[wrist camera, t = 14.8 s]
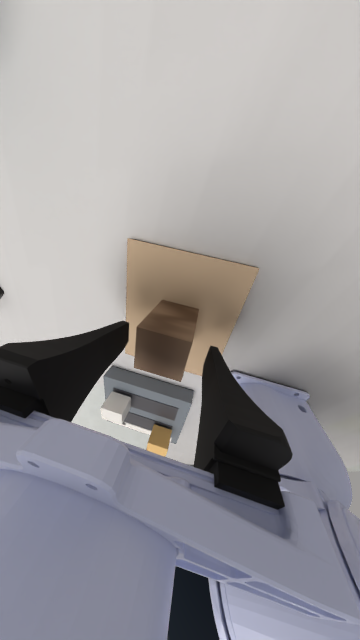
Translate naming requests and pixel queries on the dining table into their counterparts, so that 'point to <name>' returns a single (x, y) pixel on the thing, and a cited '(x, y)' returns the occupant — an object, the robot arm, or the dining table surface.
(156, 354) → the block
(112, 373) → the switch panel
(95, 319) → the dining table surface
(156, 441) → the switch tab
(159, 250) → the mat
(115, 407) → the switch tab
